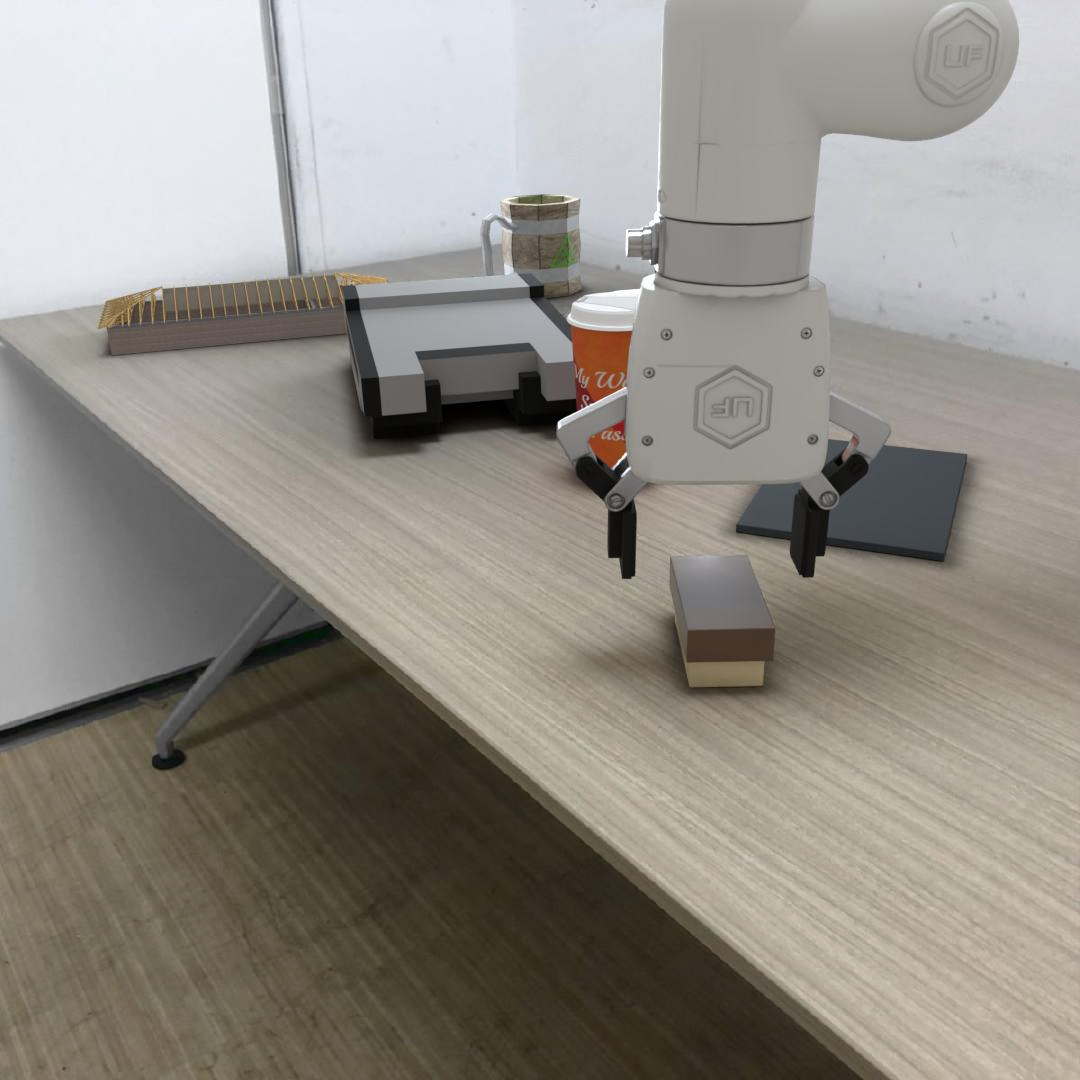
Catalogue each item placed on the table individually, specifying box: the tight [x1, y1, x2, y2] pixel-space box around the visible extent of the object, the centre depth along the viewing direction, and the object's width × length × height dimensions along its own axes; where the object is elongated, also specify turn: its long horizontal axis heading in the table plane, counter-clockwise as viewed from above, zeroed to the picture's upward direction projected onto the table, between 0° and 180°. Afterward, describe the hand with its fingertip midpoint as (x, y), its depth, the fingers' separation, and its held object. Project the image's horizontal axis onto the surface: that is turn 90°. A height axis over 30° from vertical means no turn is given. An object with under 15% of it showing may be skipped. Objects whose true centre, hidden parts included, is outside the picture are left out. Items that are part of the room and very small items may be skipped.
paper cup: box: [566, 291, 639, 469], centre depth 86 cm, size 8×8×14 cm
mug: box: [479, 193, 583, 299], centre depth 150 cm, size 16×11×12 cm
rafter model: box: [96, 271, 391, 356], centre depth 136 cm, size 35×14×6 cm, turn 106°
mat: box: [735, 438, 968, 562], centre depth 84 cm, size 20×14×1 cm
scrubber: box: [668, 554, 776, 688], centre depth 63 cm, size 9×5×4 cm, turn 0°
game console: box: [341, 273, 577, 439], centre depth 109 cm, size 21×32×8 cm, turn 12°
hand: (713, 567), depth 61 cm, fingers open, 9 cm apart
